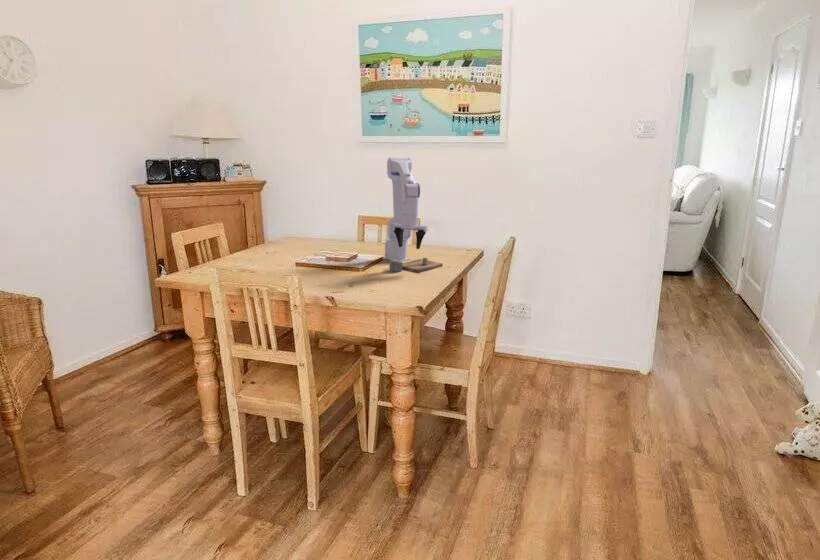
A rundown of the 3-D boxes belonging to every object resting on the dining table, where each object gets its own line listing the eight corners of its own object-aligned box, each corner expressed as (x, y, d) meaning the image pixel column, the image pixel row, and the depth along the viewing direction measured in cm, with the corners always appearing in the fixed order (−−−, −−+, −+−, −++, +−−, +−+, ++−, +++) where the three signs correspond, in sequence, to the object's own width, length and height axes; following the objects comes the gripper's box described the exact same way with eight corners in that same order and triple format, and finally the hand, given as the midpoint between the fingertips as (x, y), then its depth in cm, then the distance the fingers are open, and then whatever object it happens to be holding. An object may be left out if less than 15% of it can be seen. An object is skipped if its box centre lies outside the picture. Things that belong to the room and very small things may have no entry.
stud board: (396, 267, 234) (396, 258, 233) (420, 261, 246) (420, 252, 245) (419, 272, 226) (419, 263, 225) (442, 266, 238) (442, 257, 237)
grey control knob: (386, 270, 228) (387, 260, 227) (394, 268, 232) (395, 258, 231) (396, 272, 225) (396, 262, 224) (404, 270, 229) (404, 260, 228)
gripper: (389, 213, 223) (388, 247, 226) (423, 216, 217) (422, 251, 221) (396, 211, 229) (395, 244, 233) (430, 214, 224) (428, 248, 227)
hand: (409, 247), depth 227 cm, fingers open, 7 cm apart
